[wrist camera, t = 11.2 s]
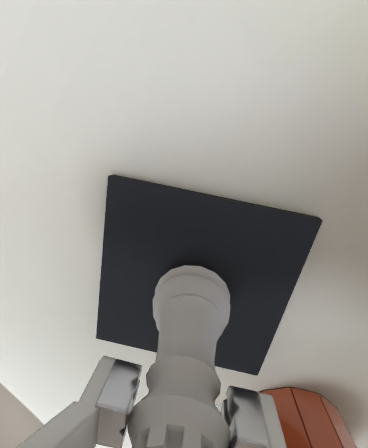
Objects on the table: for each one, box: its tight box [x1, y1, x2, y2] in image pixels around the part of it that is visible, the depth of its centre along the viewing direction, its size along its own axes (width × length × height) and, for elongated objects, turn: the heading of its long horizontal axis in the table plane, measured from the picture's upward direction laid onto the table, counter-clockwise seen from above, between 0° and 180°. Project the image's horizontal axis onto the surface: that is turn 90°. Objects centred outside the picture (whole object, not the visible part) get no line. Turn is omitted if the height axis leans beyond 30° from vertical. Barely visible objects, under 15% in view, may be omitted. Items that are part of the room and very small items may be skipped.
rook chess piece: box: [127, 265, 231, 448], centre depth 10 cm, size 4×4×8 cm
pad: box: [96, 175, 322, 375], centre depth 15 cm, size 12×12×1 cm
